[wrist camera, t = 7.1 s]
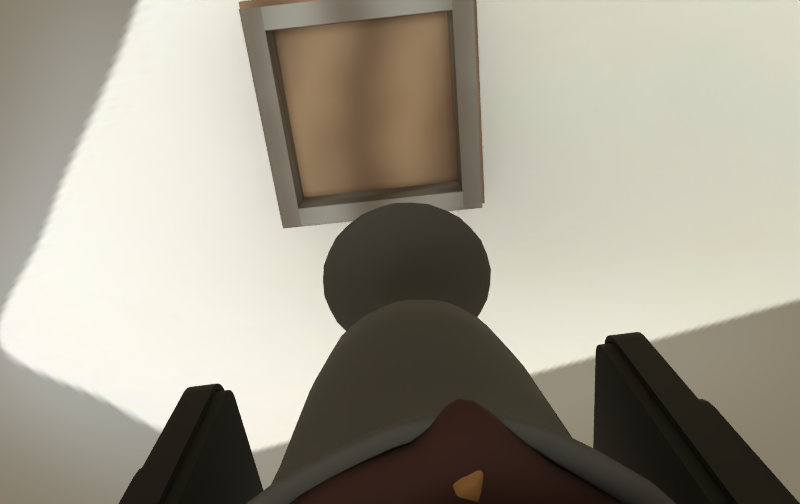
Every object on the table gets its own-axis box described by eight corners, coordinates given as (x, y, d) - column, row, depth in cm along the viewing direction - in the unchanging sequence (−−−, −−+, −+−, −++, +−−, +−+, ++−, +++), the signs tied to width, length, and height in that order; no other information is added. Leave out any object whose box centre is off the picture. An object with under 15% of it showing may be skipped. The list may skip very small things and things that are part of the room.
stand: (472, -23, 32) (482, -30, 28) (481, 198, 37) (491, 214, 34) (243, 2, 32) (226, -1, 28) (286, 218, 37) (276, 237, 34)
